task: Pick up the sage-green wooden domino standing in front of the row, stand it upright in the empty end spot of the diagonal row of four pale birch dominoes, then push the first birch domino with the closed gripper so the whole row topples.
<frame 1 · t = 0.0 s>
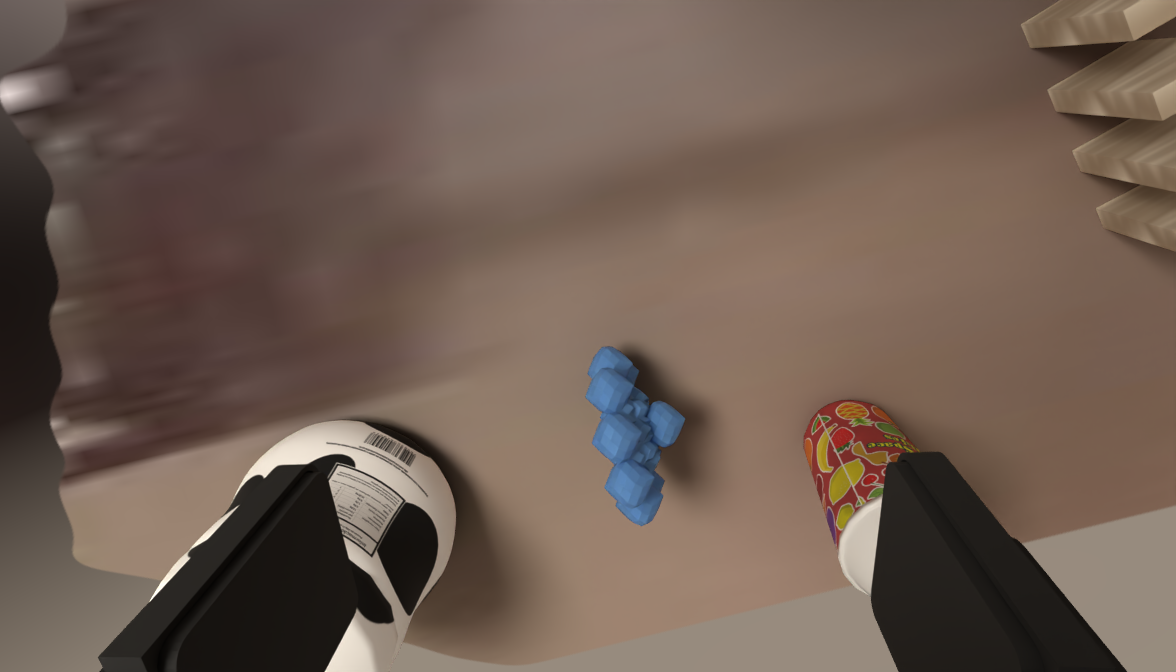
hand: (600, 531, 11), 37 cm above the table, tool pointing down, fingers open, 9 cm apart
domino 4: (1138, 197, 43), on the table
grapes: (638, 390, 51), on the table
smoothie: (842, 429, 51), on the table
milk container: (370, 489, 56), on the table
domino 3: (1116, 139, 41), on the table
domino 1: (1067, 10, 39), on the table
domino 2: (1092, 77, 40), on the table
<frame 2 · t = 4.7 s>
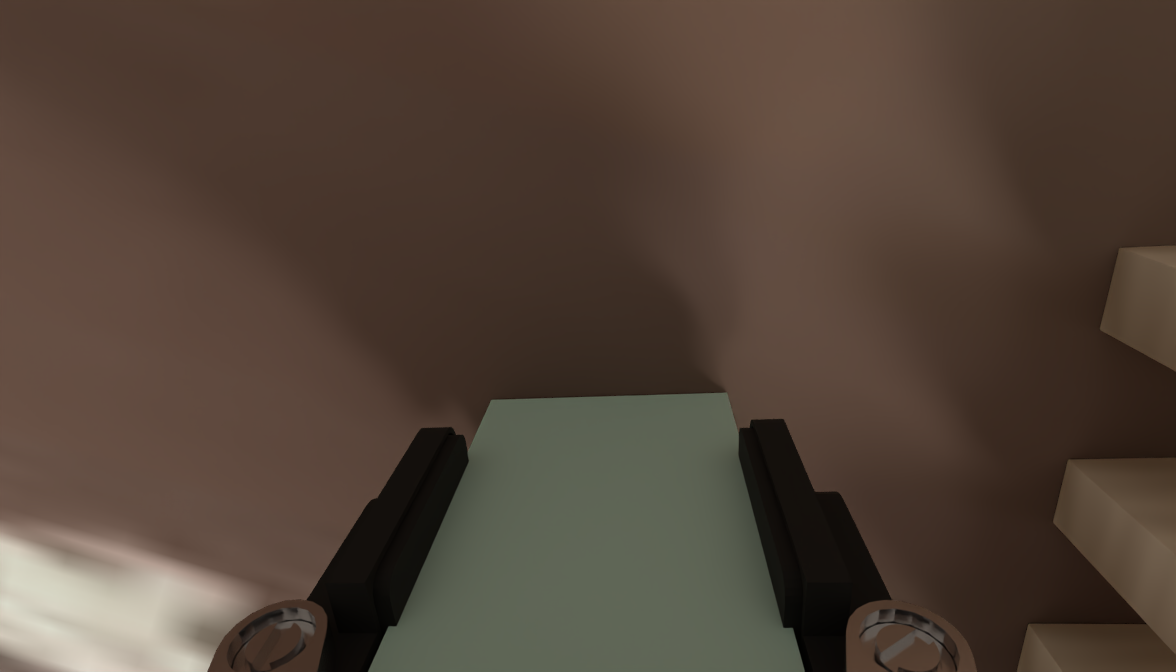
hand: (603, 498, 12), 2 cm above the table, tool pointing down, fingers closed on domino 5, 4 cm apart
domino 5: (609, 429, 14), on the table, touching gripper
domino 2: (1134, 649, 15), on the table
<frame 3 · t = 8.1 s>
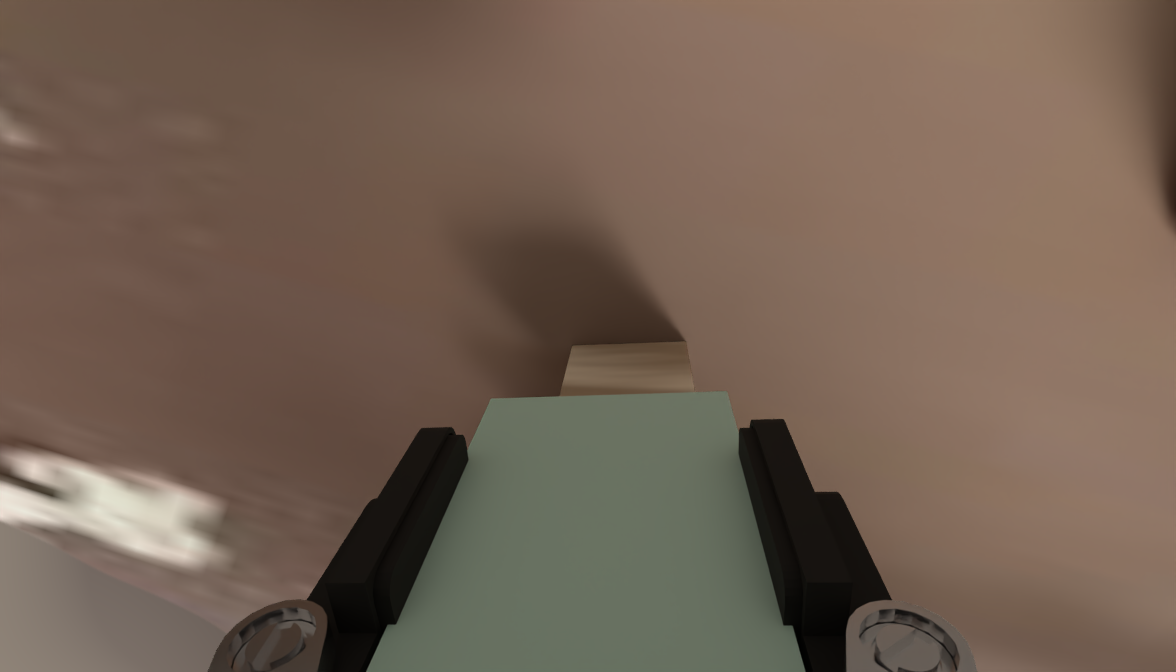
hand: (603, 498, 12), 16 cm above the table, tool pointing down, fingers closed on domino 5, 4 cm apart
domino 4: (629, 360, 28), on the table
domino 5: (609, 427, 14), point 14 cm above the table, touching gripper
when the fingers open (3 cm above the table, at t = 11.4 s): domino 5 stays where it is, on the table.
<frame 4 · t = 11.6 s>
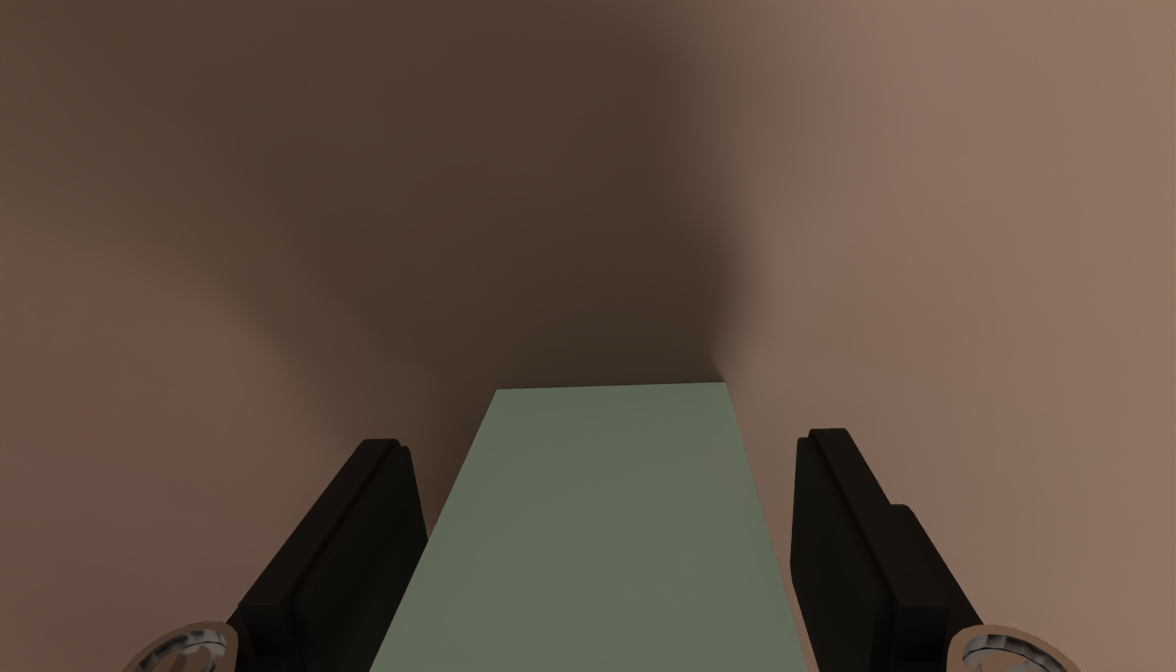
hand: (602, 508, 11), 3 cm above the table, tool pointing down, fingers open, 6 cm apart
domino 5: (611, 417, 14), on the table
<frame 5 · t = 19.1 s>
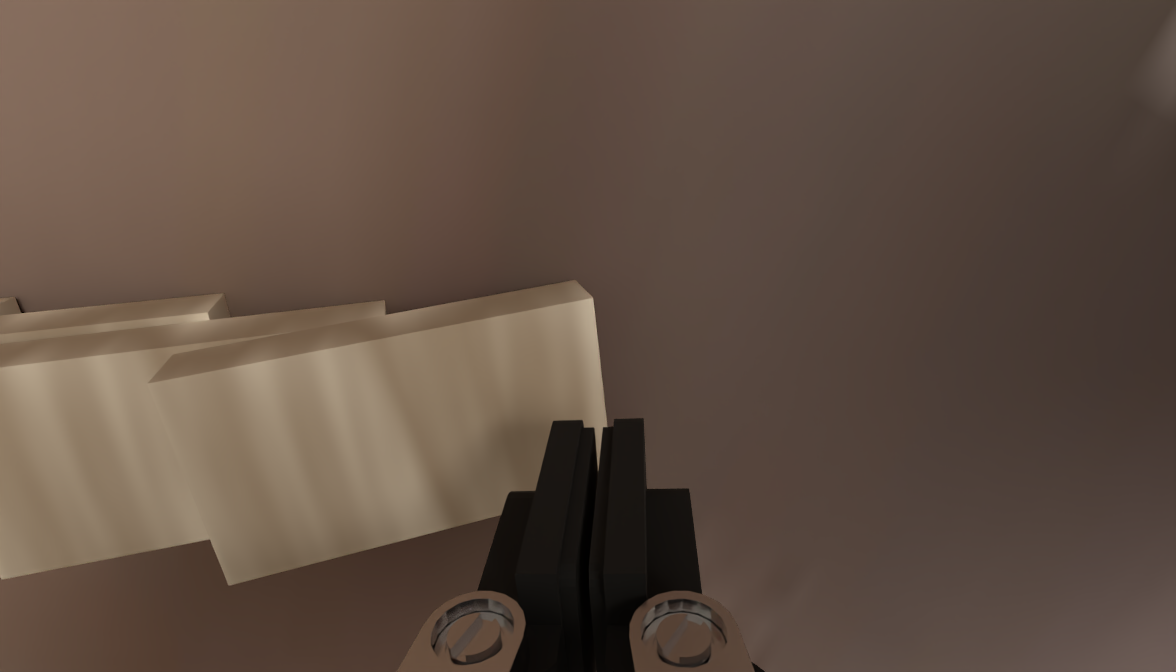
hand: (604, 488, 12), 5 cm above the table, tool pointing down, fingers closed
domino 4: (32, 395, 17), point 1 cm above the table, tilted 74°, touching domino 3, domino 5
domino 3: (240, 392, 17), point 1 cm above the table, tilted 71°, touching domino 2, domino 4
domino 1: (594, 384, 16), point 1 cm above the table, tilted 70°, touching domino 2
domino 2: (399, 401, 16), point 1 cm above the table, tilted 69°, touching domino 1, domino 3
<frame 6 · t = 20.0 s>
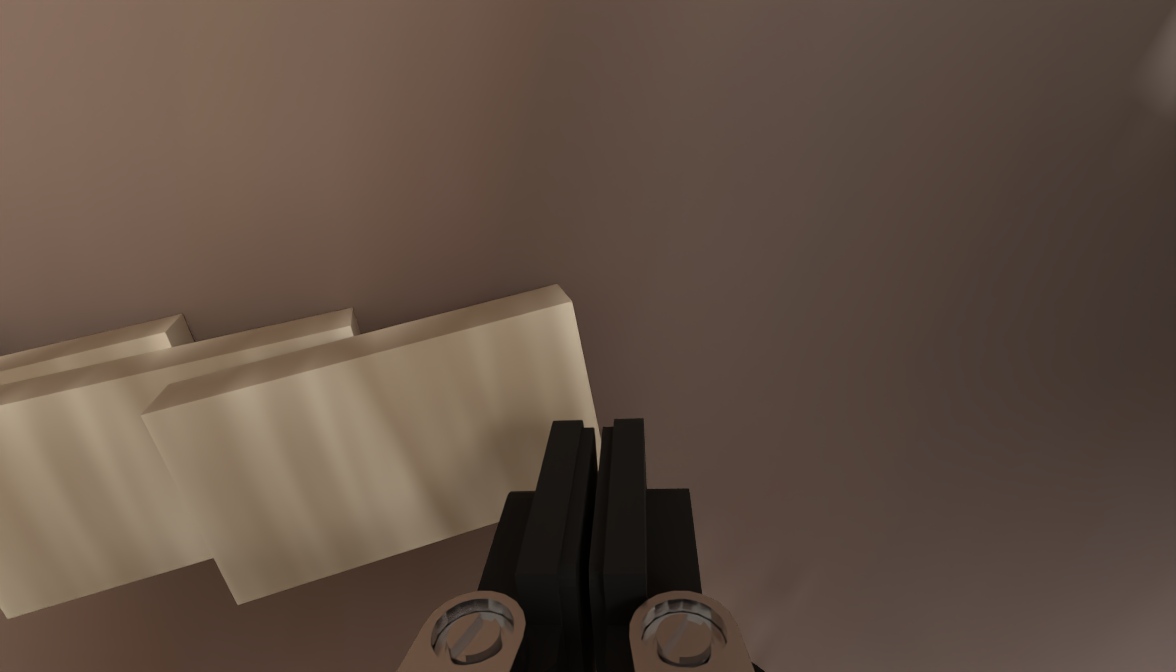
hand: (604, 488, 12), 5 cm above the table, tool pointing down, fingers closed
domino 3: (212, 409, 17), point 1 cm above the table, tilted 67°, touching domino 2, domino 4
domino 1: (584, 386, 16), point 1 cm above the table, tilted 71°
domino 2: (378, 405, 17), point 1 cm above the table, tilted 68°, touching domino 3
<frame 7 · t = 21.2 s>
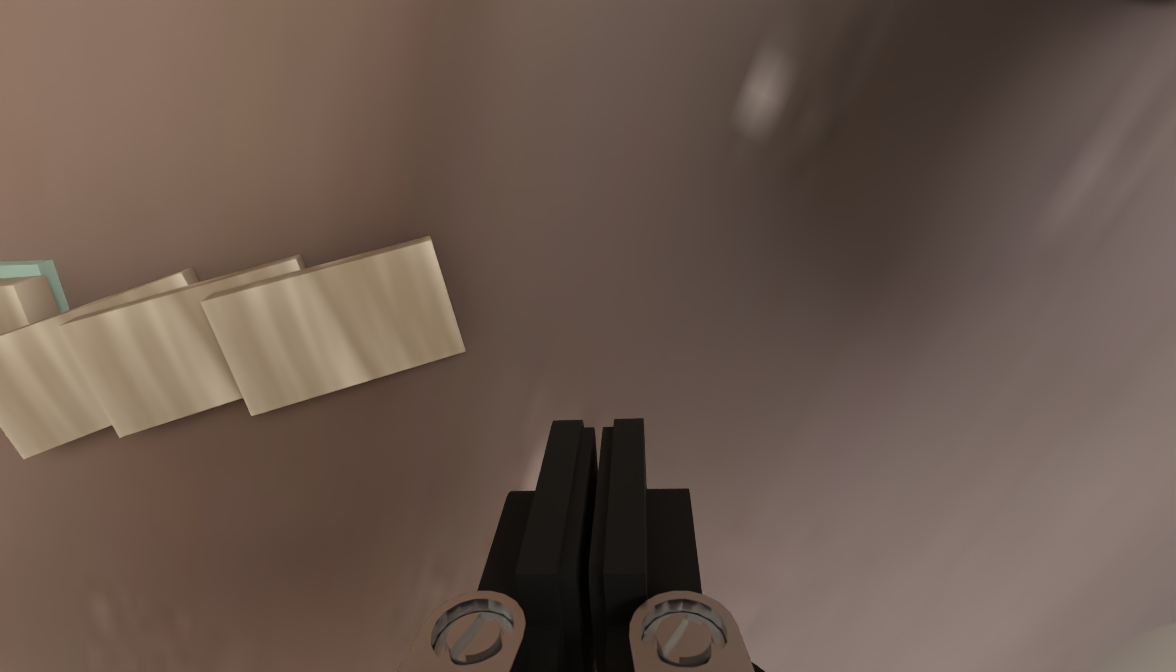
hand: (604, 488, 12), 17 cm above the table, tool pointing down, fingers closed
domino 4: (51, 334, 28), point 2 cm above the table, tilted 90°, touching domino 3, domino 5
domino 3: (215, 321, 29), point 1 cm above the table, tilted 70°, touching domino 4
domino 5: (70, 312, 30), on the table, tilted 90°, touching domino 4
domino 1: (447, 293, 28), point 1 cm above the table, tilted 72°, touching domino 2
domino 2: (320, 310, 28), point 1 cm above the table, tilted 70°, touching domino 1
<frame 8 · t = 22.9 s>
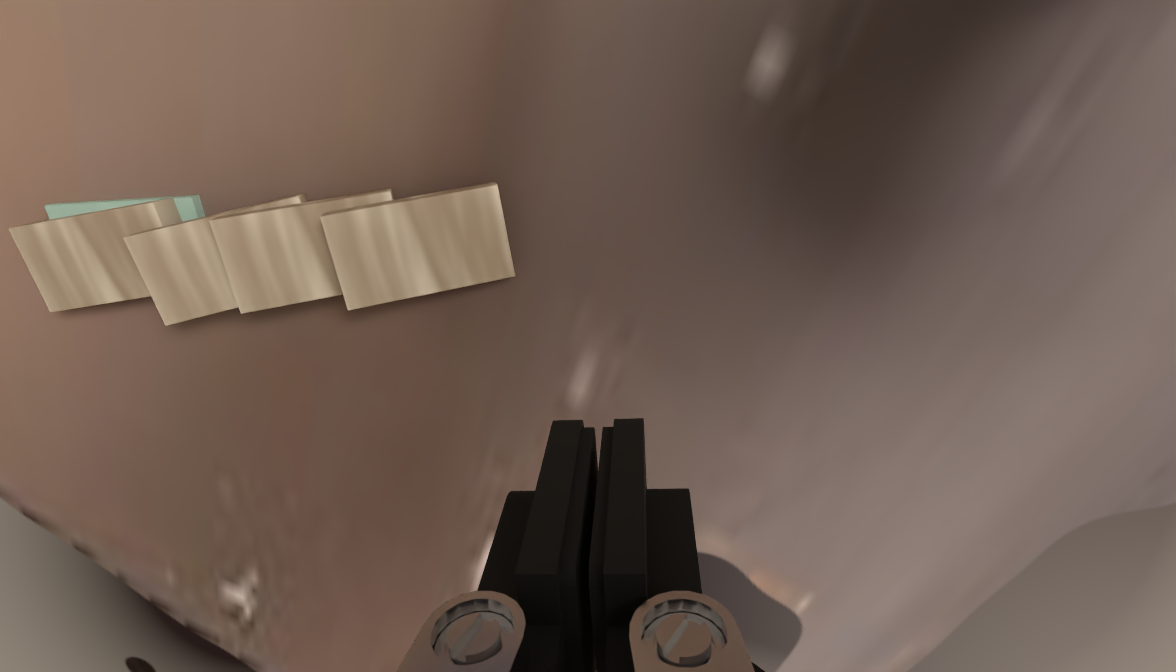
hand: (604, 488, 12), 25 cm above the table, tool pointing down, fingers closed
domino 4: (180, 243, 36), point 1 cm above the table, tilted 90°, touching domino 3, domino 5
domino 3: (317, 238, 36), point 1 cm above the table, tilted 73°, touching domino 2, domino 4
domino 5: (213, 237, 38), on the table, tilted 90°, touching domino 4
domino 1: (504, 229, 35), point 1 cm above the table, tilted 72°, touching domino 2
domino 2: (401, 235, 36), point 1 cm above the table, tilted 72°, touching domino 1, domino 3
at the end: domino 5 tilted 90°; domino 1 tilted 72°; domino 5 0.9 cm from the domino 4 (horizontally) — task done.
